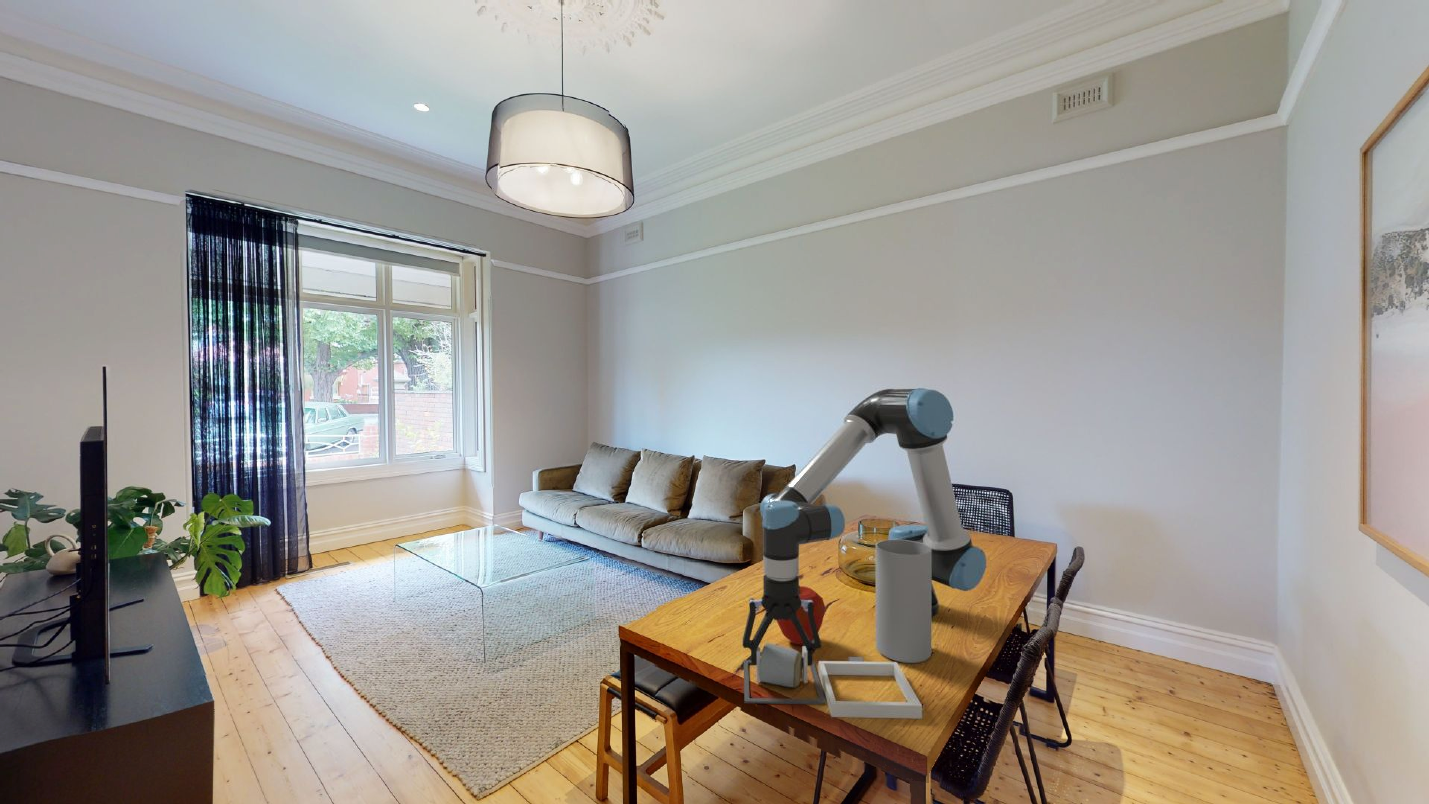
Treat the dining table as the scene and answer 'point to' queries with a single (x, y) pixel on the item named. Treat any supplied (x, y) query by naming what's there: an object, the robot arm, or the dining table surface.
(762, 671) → the ceramic mug
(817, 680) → the tray outline
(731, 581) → the dining table surface
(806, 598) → the apple
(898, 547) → the cylinder vase
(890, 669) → the socket
